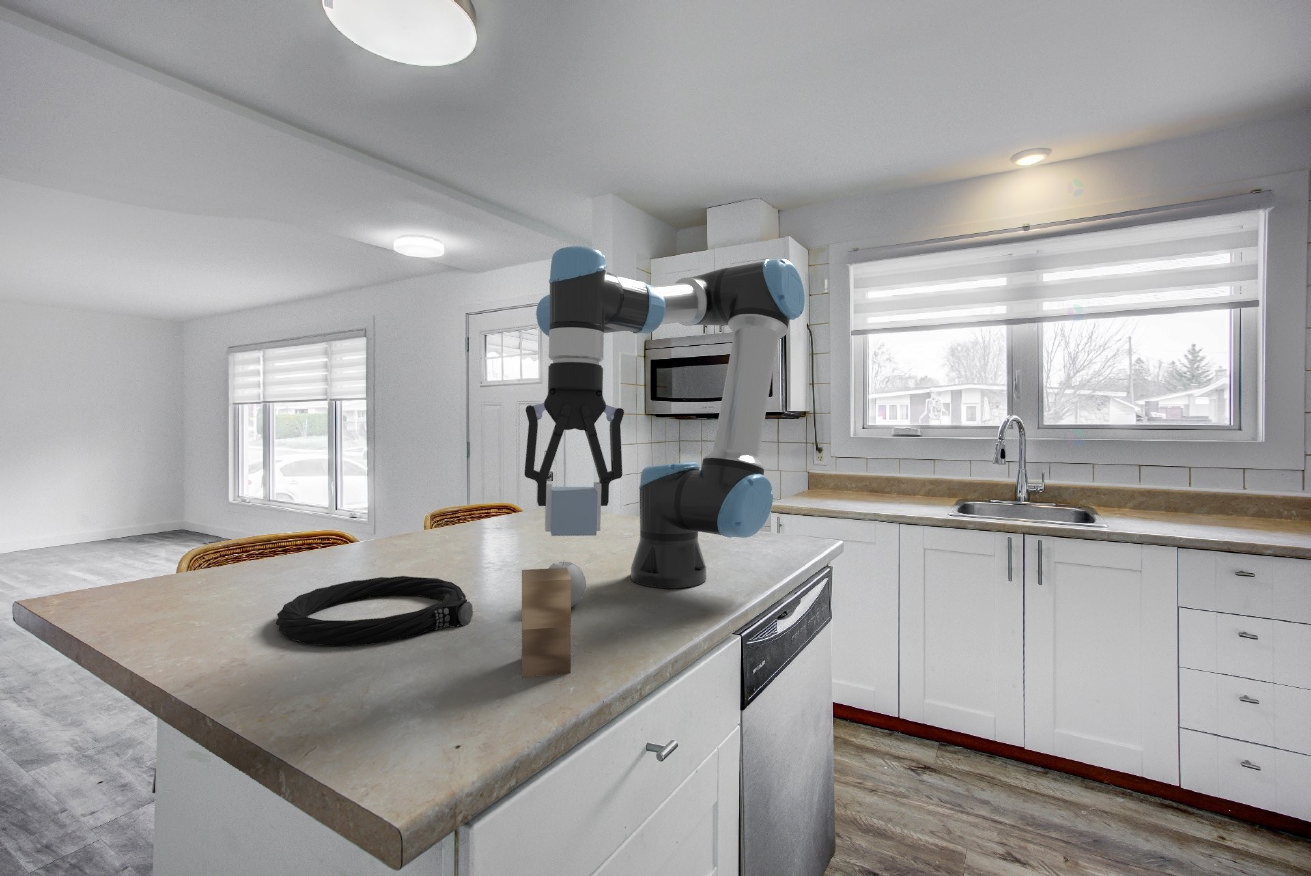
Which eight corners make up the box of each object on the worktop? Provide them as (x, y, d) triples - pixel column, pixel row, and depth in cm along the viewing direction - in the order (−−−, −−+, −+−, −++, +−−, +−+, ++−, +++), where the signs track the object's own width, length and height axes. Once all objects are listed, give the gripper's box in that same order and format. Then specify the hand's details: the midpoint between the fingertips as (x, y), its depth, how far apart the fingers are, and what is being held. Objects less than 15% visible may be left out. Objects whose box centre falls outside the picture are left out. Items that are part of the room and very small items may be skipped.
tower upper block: (567, 611, 83) (567, 567, 82) (570, 626, 77) (570, 579, 76) (521, 614, 81) (521, 569, 81) (522, 629, 75) (522, 581, 75)
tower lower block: (566, 654, 83) (566, 611, 83) (570, 673, 77) (570, 626, 77) (521, 658, 81) (521, 614, 81) (522, 677, 76) (522, 629, 75)
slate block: (591, 528, 88) (592, 487, 88) (596, 535, 82) (597, 491, 82) (549, 528, 87) (550, 486, 87) (551, 535, 81) (552, 490, 81)
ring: (358, 569, 114) (507, 578, 108) (359, 589, 114) (507, 600, 108) (228, 616, 87) (416, 632, 81) (228, 643, 87) (417, 661, 81)
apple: (594, 605, 104) (595, 559, 104) (564, 617, 98) (564, 568, 98) (561, 597, 109) (562, 553, 108) (530, 608, 102) (530, 561, 102)
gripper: (638, 368, 90) (634, 524, 90) (506, 362, 86) (503, 525, 86) (648, 363, 83) (644, 533, 83) (504, 356, 79) (501, 535, 79)
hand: (572, 529), depth 85 cm, fingers closed on slate block, 6 cm apart
